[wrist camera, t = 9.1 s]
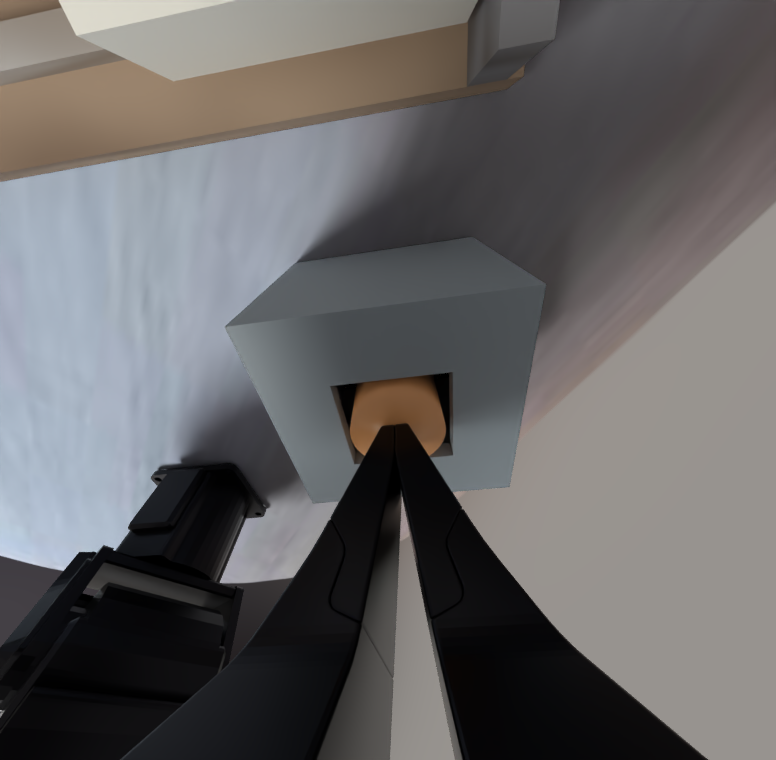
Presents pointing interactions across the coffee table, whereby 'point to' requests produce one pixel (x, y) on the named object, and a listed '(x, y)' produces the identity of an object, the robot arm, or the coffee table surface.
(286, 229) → the coffee table surface
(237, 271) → the coffee table surface
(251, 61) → the carriage
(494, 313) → the box
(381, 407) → the orange-brown egg-shaped piece
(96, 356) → the coffee table surface
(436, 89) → the rail
